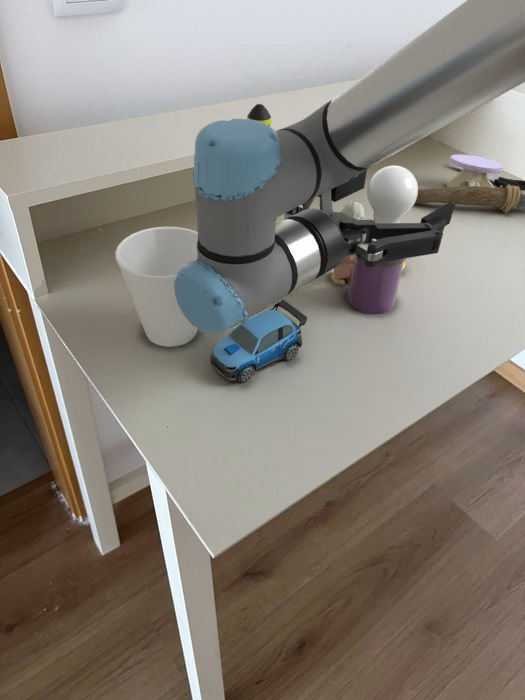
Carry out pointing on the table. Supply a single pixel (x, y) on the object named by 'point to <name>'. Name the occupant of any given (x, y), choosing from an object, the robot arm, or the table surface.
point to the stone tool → (475, 196)
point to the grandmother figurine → (346, 264)
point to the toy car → (258, 343)
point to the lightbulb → (391, 193)
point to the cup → (158, 280)
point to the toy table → (473, 170)
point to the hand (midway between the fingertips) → (404, 194)
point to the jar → (374, 284)
